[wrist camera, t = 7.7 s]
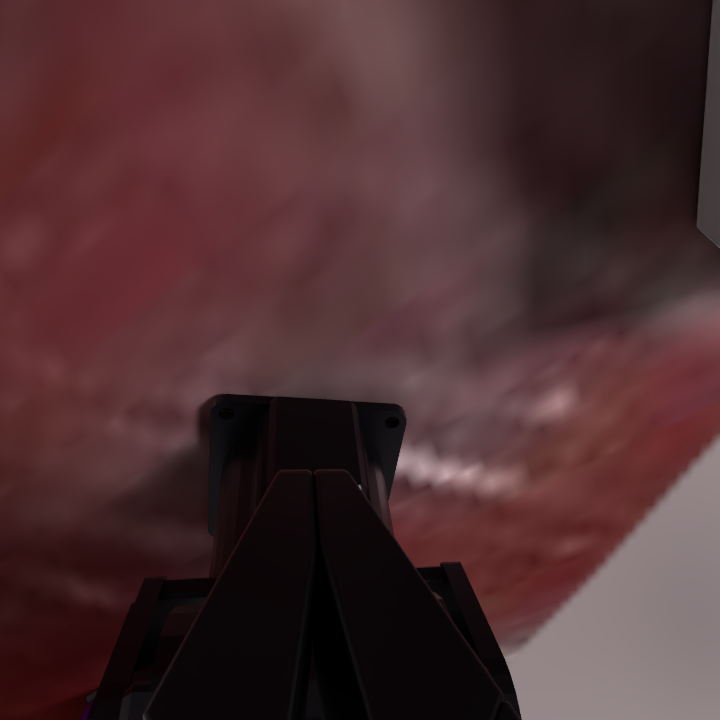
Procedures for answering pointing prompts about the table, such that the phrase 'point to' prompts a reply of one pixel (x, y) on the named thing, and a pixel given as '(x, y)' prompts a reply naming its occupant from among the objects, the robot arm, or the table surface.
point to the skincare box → (711, 140)
